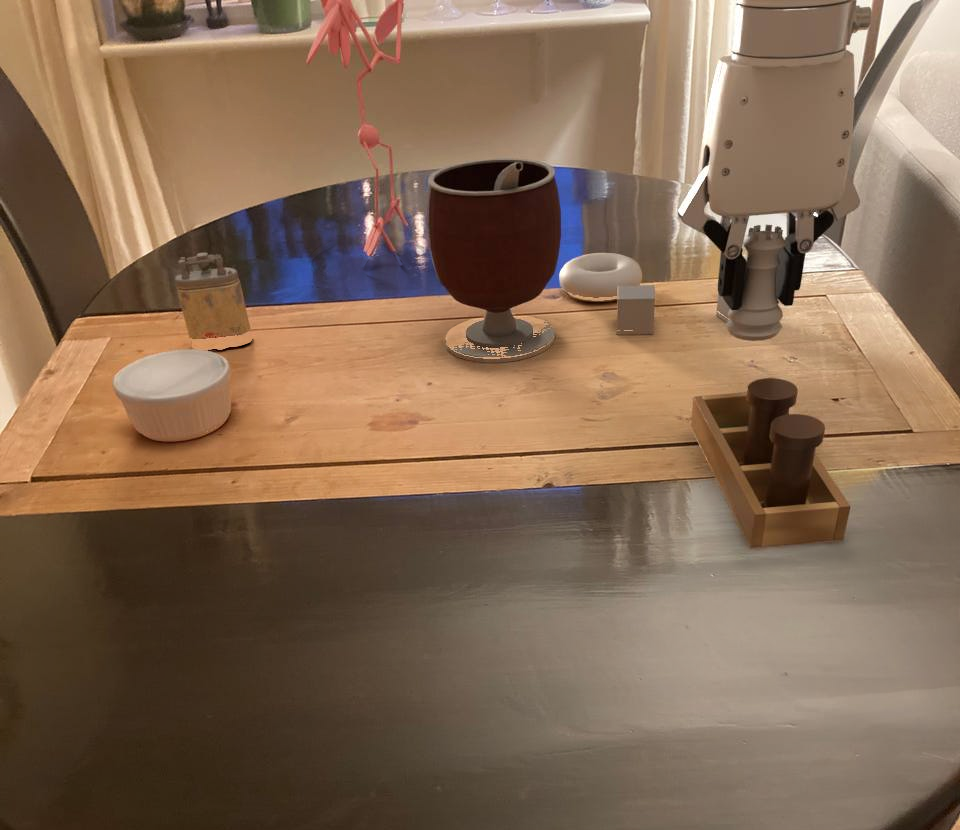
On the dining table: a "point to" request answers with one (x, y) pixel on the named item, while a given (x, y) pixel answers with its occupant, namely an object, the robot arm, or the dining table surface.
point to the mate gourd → (495, 247)
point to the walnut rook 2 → (792, 458)
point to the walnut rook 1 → (765, 416)
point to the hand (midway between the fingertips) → (757, 299)
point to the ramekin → (176, 394)
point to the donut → (599, 275)
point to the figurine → (338, 27)
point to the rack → (763, 481)
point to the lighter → (211, 298)
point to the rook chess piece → (759, 287)
